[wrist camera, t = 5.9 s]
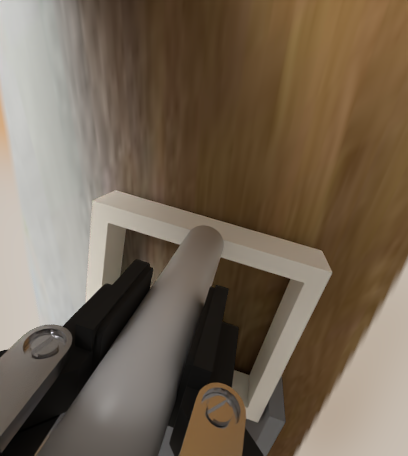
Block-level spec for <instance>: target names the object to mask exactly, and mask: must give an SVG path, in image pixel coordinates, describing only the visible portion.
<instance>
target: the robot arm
mask: <svg viewBox="0 0 408 456" xmlns="http://www.w3.org/2000/svg"><path fill="white" fill-rule="evenodd" d="M152 273H153V268H151V267H150V264H149V263H147V262H144V261H141V260H138V259H136V260H135V261H134V262H133V263H132V264H131V265H130V266H129V267H128V268H127V270H126V271H125V272H124V273H123V274H122V275H121V276H120V277H119V278H118V279H117V280H116V281H115V282H114V283H113V285H111V284H108V283H106V284H104V285H103V286H102V287H101V288H100V289H99V290H98V291H97V292H96V293H95V294H94V295H93V296H92V297H91V298H90V299H89V300H88V301H87V302H86V303H85V304H84V305H83V306H82V307H81V308H80V309H79V310H78V311H77V312H76V313H75V314H74V315H73V316H72V317H71V318H70V319H69V320H68V321H67V322H66V323H65V325H64V326H63V327H62V326H59V325H44V326H40V327H37V328H34V329H32V330H30V331H29V332H27V333H26V334H25V335H23V336H22V337H21V338H20V339H19V340H18V341H17V342H16V343H15V344H14V345H13V346H12V347H11V348H10V349H8V350H4V351H0V456H37V454H38V453H39V451H40V450H41V448H42V447H43V445H44V444H45V442H46V441H47V440H48V438H49V437H50V435H51V434H52V432H53V431H54V429H55V428H56V426H57V425H58V423H59V422H60V420H61V419H62V418H63V416H64V415H65V413H66V412H67V410H68V409H69V407H70V406H71V404H72V403H73V401H74V400H75V399H76V397H77V396H78V394H79V393H80V391H81V390H82V388H83V387H84V385H85V384H86V382H87V381H88V379H89V378H90V377H91V375H92V374H93V372H94V371H95V369H96V368H97V366H98V365H99V363H100V362H101V360H102V359H103V357H104V356H105V355H106V353H107V352H108V350H109V349H110V347H111V346H112V344H113V343H114V341H115V340H116V338H117V337H118V335H119V334H120V333H121V331H122V330H123V328H124V327H125V325H126V324H127V322H128V321H129V319H130V318H131V316H132V315H133V314H134V312H135V311H136V309H137V308H138V306H139V305H140V303H141V302H142V300H143V299H144V297H145V296H146V294H147V293H148V292H149V289H150V284H151V279H152ZM228 291H229V289H228V288H225V287H222V286H219V285H216V287H215V288H213V287H210V288H209V291H208V294H207V297H206V301H205V304H204V307H203V310H202V313H201V316H200V319H199V322H198V325H197V328H196V332H195V335H194V338H193V341H192V344H191V347H190V350H189V353H188V356H187V360H186V363H185V366H184V369H183V373H182V376H181V380H180V383H179V387H178V390H177V396H176V401H175V404H174V407H173V410H172V413H171V416H170V420H169V423H168V426H170V427H172V428H173V431H172V434H171V438H170V442H169V445H170V447H171V449H172V452H173V454H174V456H264V455H263V453H262V452H261V450H260V449H259V447H258V446H257V444H256V443H255V441H254V440H253V438H252V437H251V435H250V434H249V432H248V431H247V429H246V427H245V423H246V409H245V406H244V403H243V400H242V399H241V397H240V396H239V394H238V393H237V392H236V391H235V390H234V389H233V388H232V383H233V374H234V366H235V357H236V348H237V340H238V331H239V328H238V327H237V326H234V325H231V324H228V323H225V322H222V320H223V315H224V310H225V305H226V300H227V295H228Z"/></svg>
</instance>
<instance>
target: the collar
mask: <svg viewBox="0 0 408 456" xmlns="http://www.w3.org/2000/svg"><path fill="white" fill-rule="evenodd" d="M126 228H127V229H130V230H133V231H137V232H140V233H143V234H146V235H150V236H153V237H156V238H159V239H163V240H166V241H169V242H172V243H176V244H179V245H180V246H179V248H178V249H177V251H176V252H175V253H174V255H173V256H172V258H171V259H170V261H169V262H168V264H167V265H166V267H165V268H164V270H163V271H162V272H161V274H160V275H159V277H158V278H157V280H156V281H155V283H154V284H153V286H152V287H151V289H150V290H149V292H148V293H147V294H146V296H145V297H144V299H143V300H142V302H141V303H140V305H139V306H138V308H137V309H136V311H135V312H134V314H133V315H132V316H131V318H130V319H129V321H128V322H127V324H126V325H125V327H124V328H123V330H122V331H121V333H120V334H119V335H118V337H117V338H116V340H115V341H114V343H113V344H112V346H111V347H110V349H109V350H108V352H107V353H106V355H105V356H104V357H103V359H102V360H101V362H100V363H99V365H98V366H97V368H96V369H95V371H94V372H93V374H92V375H91V377H90V378H89V379H88V381H87V382H86V384H85V385H84V387H83V388H82V390H81V391H80V393H79V394H78V396H77V397H76V399H75V400H74V401H73V403H72V404H71V406H70V407H69V409H68V410H67V412H66V413H65V415H64V416H63V418H62V419H61V420H60V422H59V423H58V425H57V426H56V428H55V429H54V431H53V432H52V434H51V435H50V437H49V438H48V440H47V441H46V442H45V444H44V445H43V447H42V448H41V450H40V451H39V453H38V454H37V456H158V455H159V451H160V448H161V445H162V442H163V439H164V436H165V432H166V429H167V426H168V423H169V420H170V416H171V413H172V410H173V407H174V404H175V401H176V396H177V390H178V387H179V383H180V380H181V376H182V373H183V369H184V366H185V363H186V360H187V356H188V353H189V350H190V347H191V344H192V341H193V338H194V335H195V332H196V328H197V325H198V322H199V319H200V316H201V313H202V310H203V307H204V304H205V301H206V297H207V294H208V291H209V288H210V287H211V286H212V283H213V280H214V277H215V273H216V270H217V267H218V264H219V261H220V258H225V259H228V260H231V261H234V262H238V263H241V264H244V265H248V266H251V267H254V268H257V269H261V270H264V271H267V272H270V273H274V274H277V275H280V276H283V277H287V278H290V281H289V284H288V286H287V288H286V291H285V293H284V295H283V298H282V300H281V302H280V305H279V307H278V309H277V312H276V314H275V316H274V319H273V321H272V323H271V326H270V328H269V330H268V333H267V335H266V337H265V340H264V342H263V344H262V347H261V349H260V351H259V354H258V356H257V358H256V361H255V363H254V365H253V368H252V370H251V372H250V375H247V374H244V373H241V372H238V371H236V370H234V374H233V383H232V388H233V389H234V390H235V391H236V392H237V393H238V394H239V396H240V397H241V399H242V400H243V403H244V406H245V409H246V419H249V420H252V421H254V422H257V423H258V421H259V419H260V417H261V415H262V413H263V411H264V409H265V407H266V405H267V403H268V401H269V399H270V397H271V395H272V393H273V391H274V389H275V387H276V385H277V383H278V381H279V379H280V377H281V375H282V373H283V371H284V369H285V367H286V365H287V363H288V361H289V359H290V357H291V355H292V353H293V351H294V349H295V347H296V345H297V343H298V341H299V339H300V337H301V335H302V333H303V331H304V329H305V327H306V325H307V323H308V321H309V319H310V317H311V315H312V313H313V311H314V309H315V307H316V305H317V303H318V301H319V299H320V297H321V295H322V293H323V291H324V288H325V286H326V284H327V282H328V280H329V278H330V276H331V274H332V271H331V268H330V266H329V264H328V262H327V260H326V258H325V256H324V254H323V252H322V250H318V249H315V248H311V247H308V246H304V245H301V244H298V243H294V242H291V241H287V240H284V239H281V238H277V237H274V236H270V235H267V234H263V233H260V232H257V231H253V230H250V229H246V228H243V227H240V226H236V225H233V224H229V223H226V222H222V221H219V220H216V219H212V218H209V217H205V216H202V215H199V214H195V213H192V212H188V211H185V210H181V209H178V208H175V207H171V206H168V205H164V204H161V203H158V202H154V201H151V200H147V199H144V198H140V197H137V196H134V195H130V194H127V193H123V192H120V191H117V190H115V191H113V192H110V193H108V194H106V195H104V196H101V197H99V198H97V199H95V200H92V211H91V226H90V241H89V255H88V270H87V285H86V299H85V303H86V302H87V301H88V300H89V299H90V298H91V297H92V296H93V295H94V294H95V293H96V292H97V291H98V290H99V289H100V288H101V287H102V286H103V285H104V284H106V283H108V284H111V285H113V283H114V282H115V281H116V280H117V279H118V278H119V277H120V274H121V266H122V258H123V250H124V242H125V234H126Z"/></svg>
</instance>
